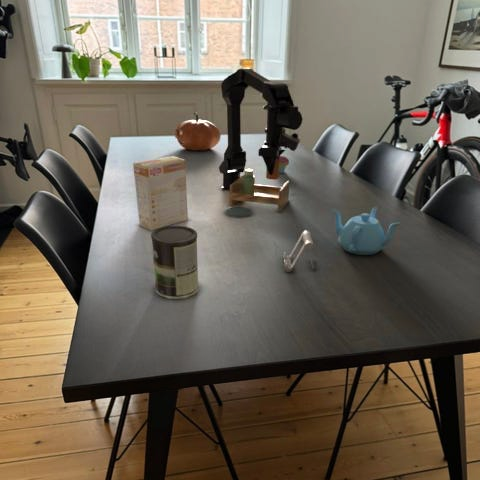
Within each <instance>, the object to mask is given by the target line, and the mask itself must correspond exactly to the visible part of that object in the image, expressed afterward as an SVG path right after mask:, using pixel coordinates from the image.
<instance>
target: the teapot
mask: <svg viewBox="0 0 480 480" xmlns="http://www.w3.org/2000/svg"><path fill="white" fill-rule="evenodd" d="M331 210H332V212H333V213H334V215H335V224H334V225H335V226H334V230H335V233H336V235H337V236H338V244H339V246H340V247H341V248H342V249H343V250H344V251H346V253H347V252H348V253H349V254H354V255H358V256H372V255H375V254H377V253H379V252H380V251H381V250H382V249H383V248H384V247H385V246H386V245H387V246H388V244H389V243H390V242H391V241H392V239H393V235H394V231H395V228H396V227H397V226H398V225H400V224H401V223H402V221H401V222H399V221H398V222H397V221H396V222H392V223H391V224H389V227H388V229H387V232H386V234H385V231H384V229H383V226H382V224H381V222H380V220H378V219H377V211H378V206H373V207H372V209H371V212H370V214H369V213H365V212H364V213H361V214H360V215H354V216H352V217H350V219H349V220H348V221H347V222H346V223H345V224H344V225H343V224H342V215H341V213H340V212H339V211H338V210H336V209H334V208H332V209H331Z"/></svg>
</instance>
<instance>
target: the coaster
mask: <svg viewBox="0 0 480 480" xmlns="http://www.w3.org/2000/svg"><path fill="white" fill-rule="evenodd" d="M252 213H253V211H252V210H251V208H248V207H245V206H230V207H228V208H226V209H225V214H226V216H229V217H232V218H247V217H249V216H252Z"/></svg>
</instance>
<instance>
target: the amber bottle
mask: <svg viewBox="0 0 480 480" xmlns="http://www.w3.org/2000/svg"><path fill="white" fill-rule="evenodd" d="M279 163H280V160H278V158H277V159H276V161H275V166H274V170H273V174H272V175H270V174H269V172H268V169H267V168H265V169H266V170H265V172H266V173H265V178H266V179H267V180H279V177H280V173H279Z"/></svg>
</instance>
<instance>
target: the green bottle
mask: <svg viewBox="0 0 480 480" xmlns="http://www.w3.org/2000/svg"><path fill="white" fill-rule="evenodd" d="M242 176H243V178H242V193H243V194H254V184H256V181H255V180H256V176H255V175H254V169H251V168H247V169H245V168H244V173H243V175H242Z"/></svg>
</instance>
